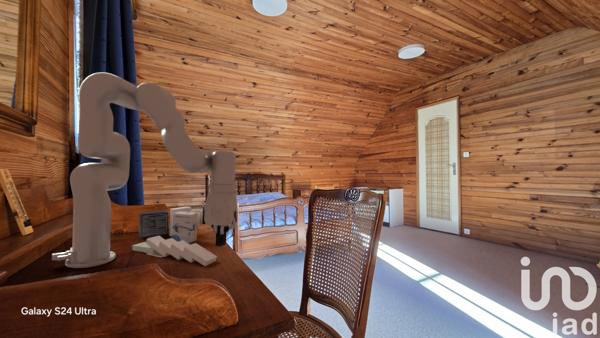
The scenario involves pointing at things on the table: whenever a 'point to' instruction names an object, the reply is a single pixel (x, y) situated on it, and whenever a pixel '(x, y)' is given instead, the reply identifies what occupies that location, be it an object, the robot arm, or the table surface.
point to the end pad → (155, 254)
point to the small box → (153, 224)
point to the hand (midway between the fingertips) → (220, 245)
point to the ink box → (185, 226)
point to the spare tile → (144, 248)
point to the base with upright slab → (172, 211)
